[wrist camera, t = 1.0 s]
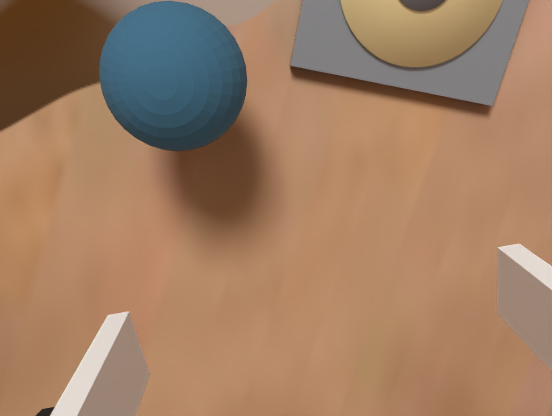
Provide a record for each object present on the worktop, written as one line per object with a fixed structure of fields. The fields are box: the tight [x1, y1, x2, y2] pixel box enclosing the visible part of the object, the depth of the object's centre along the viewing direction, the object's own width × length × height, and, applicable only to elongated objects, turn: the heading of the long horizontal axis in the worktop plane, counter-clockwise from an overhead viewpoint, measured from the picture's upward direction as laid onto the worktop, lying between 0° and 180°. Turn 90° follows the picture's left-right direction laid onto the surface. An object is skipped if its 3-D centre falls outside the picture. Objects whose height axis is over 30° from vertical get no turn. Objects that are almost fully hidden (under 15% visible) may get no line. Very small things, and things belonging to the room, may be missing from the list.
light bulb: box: [100, 1, 247, 151], centre depth 27 cm, size 8×8×12 cm
